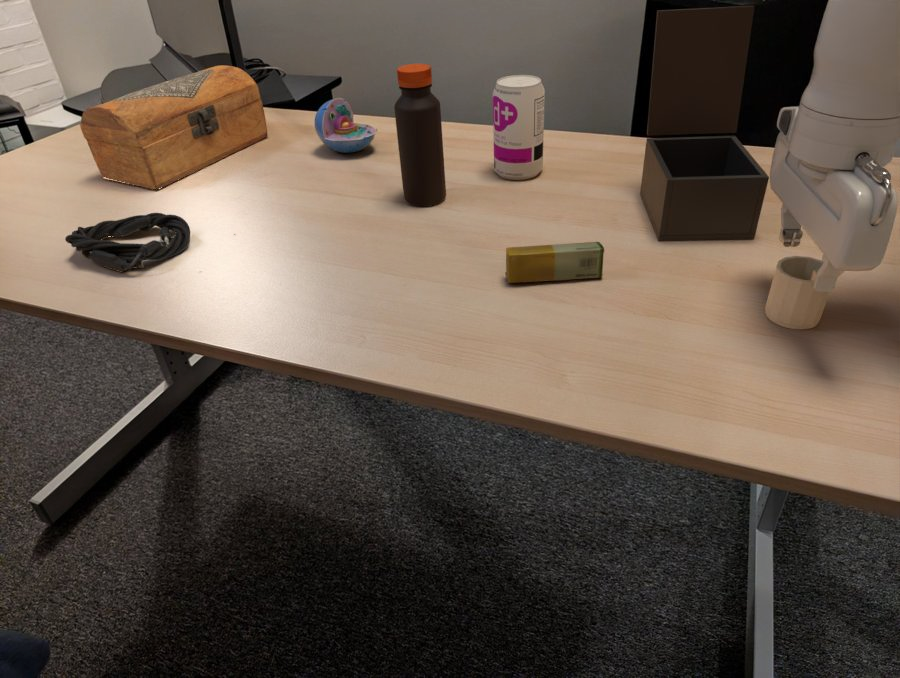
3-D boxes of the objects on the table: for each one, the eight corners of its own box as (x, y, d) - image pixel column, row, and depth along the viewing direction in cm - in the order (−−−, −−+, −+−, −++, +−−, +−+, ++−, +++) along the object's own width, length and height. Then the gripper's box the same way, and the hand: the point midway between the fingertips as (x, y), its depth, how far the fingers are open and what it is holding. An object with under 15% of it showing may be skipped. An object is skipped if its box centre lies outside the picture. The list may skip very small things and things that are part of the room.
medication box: (598, 269, 84) (600, 240, 82) (603, 278, 81) (606, 248, 79) (505, 275, 83) (505, 246, 81) (507, 284, 81) (507, 254, 79)
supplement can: (511, 185, 107) (511, 91, 98) (485, 170, 113) (483, 80, 104) (552, 173, 110) (555, 81, 101) (524, 159, 116) (525, 71, 107)
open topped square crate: (754, 239, 88) (769, 177, 82) (658, 241, 89) (667, 179, 84) (723, 191, 100) (735, 135, 95) (639, 193, 101) (646, 138, 96)
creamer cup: (808, 301, 75) (822, 255, 72) (827, 329, 70) (844, 282, 67) (757, 301, 76) (769, 256, 72) (774, 330, 71) (787, 283, 67)
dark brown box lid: (754, 5, 87) (752, 5, 88) (658, 10, 88) (657, 10, 89) (736, 132, 94) (734, 131, 95) (647, 135, 95) (646, 134, 96)
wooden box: (159, 193, 113) (131, 112, 105) (98, 179, 120) (68, 102, 112) (276, 137, 133) (260, 66, 125) (218, 128, 140) (200, 60, 132)
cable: (54, 259, 95) (42, 232, 92) (131, 219, 105) (122, 193, 102) (135, 281, 88) (124, 253, 85) (210, 236, 98) (202, 210, 95)
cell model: (360, 163, 119) (353, 110, 113) (308, 156, 124) (298, 104, 118) (389, 145, 126) (383, 94, 120) (339, 138, 131) (331, 89, 125)
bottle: (395, 199, 105) (380, 69, 93) (428, 186, 108) (417, 59, 97) (422, 211, 101) (409, 76, 89) (455, 197, 104) (447, 66, 92)
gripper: (937, 179, 53) (879, 320, 61) (835, 103, 69) (800, 222, 77) (855, 180, 53) (808, 319, 61) (774, 104, 70) (745, 223, 78)
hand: (803, 264), depth 69 cm, fingers open, 8 cm apart
